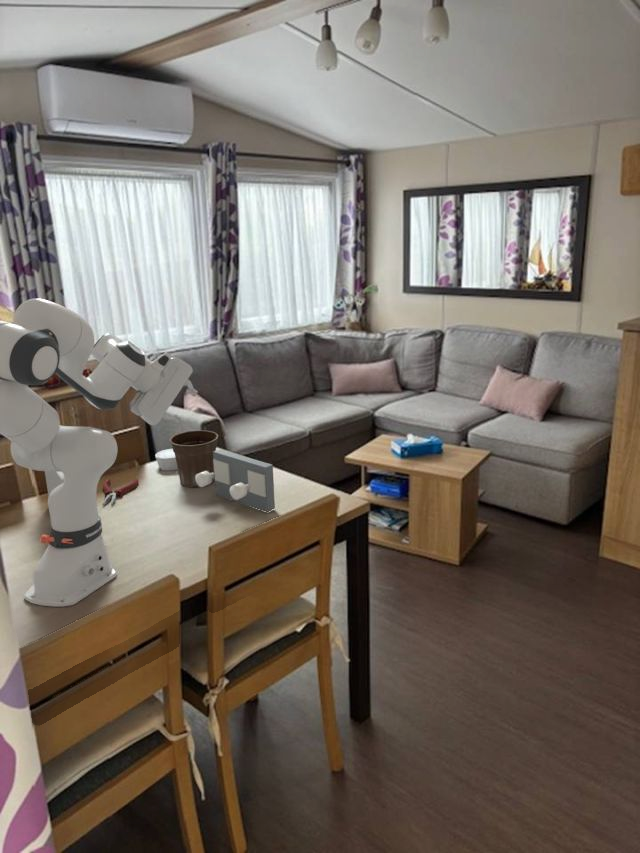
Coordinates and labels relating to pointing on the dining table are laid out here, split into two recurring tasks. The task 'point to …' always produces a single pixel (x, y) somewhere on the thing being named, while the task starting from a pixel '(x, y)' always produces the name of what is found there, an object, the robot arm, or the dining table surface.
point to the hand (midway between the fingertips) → (187, 407)
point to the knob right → (239, 490)
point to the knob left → (204, 478)
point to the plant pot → (194, 454)
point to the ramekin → (166, 460)
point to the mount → (244, 479)
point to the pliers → (117, 491)
